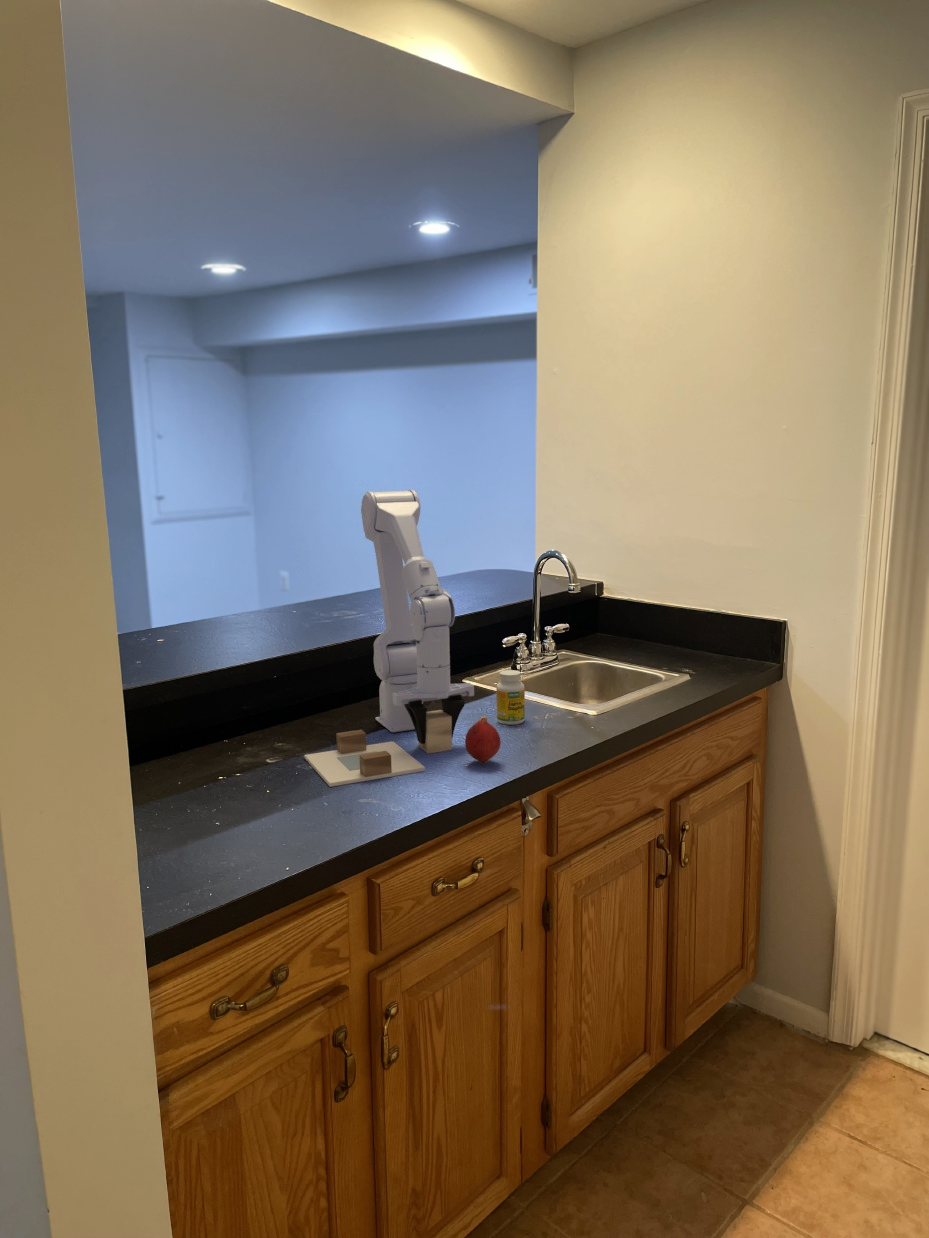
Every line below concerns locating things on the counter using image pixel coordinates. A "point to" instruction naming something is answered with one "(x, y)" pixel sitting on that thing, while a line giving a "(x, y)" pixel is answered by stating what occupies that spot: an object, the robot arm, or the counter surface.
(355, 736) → the walnut blocks
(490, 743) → the onion
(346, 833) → the counter surface
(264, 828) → the counter surface
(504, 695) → the supplement bottle
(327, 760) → the board
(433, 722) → the maple block
